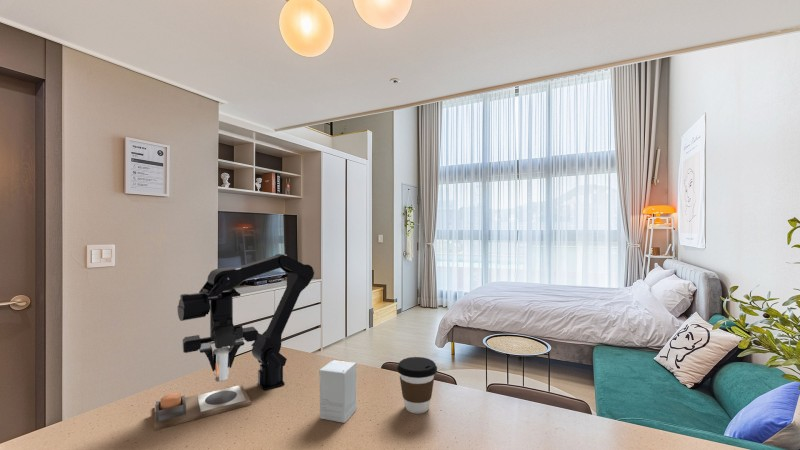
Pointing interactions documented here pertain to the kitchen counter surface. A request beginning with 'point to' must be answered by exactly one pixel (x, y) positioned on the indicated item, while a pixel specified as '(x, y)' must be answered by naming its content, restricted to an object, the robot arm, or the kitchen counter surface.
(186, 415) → the board
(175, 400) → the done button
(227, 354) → the milkshake
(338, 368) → the supplement box
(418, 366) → the coffee cup
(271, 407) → the kitchen counter surface
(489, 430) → the kitchen counter surface
